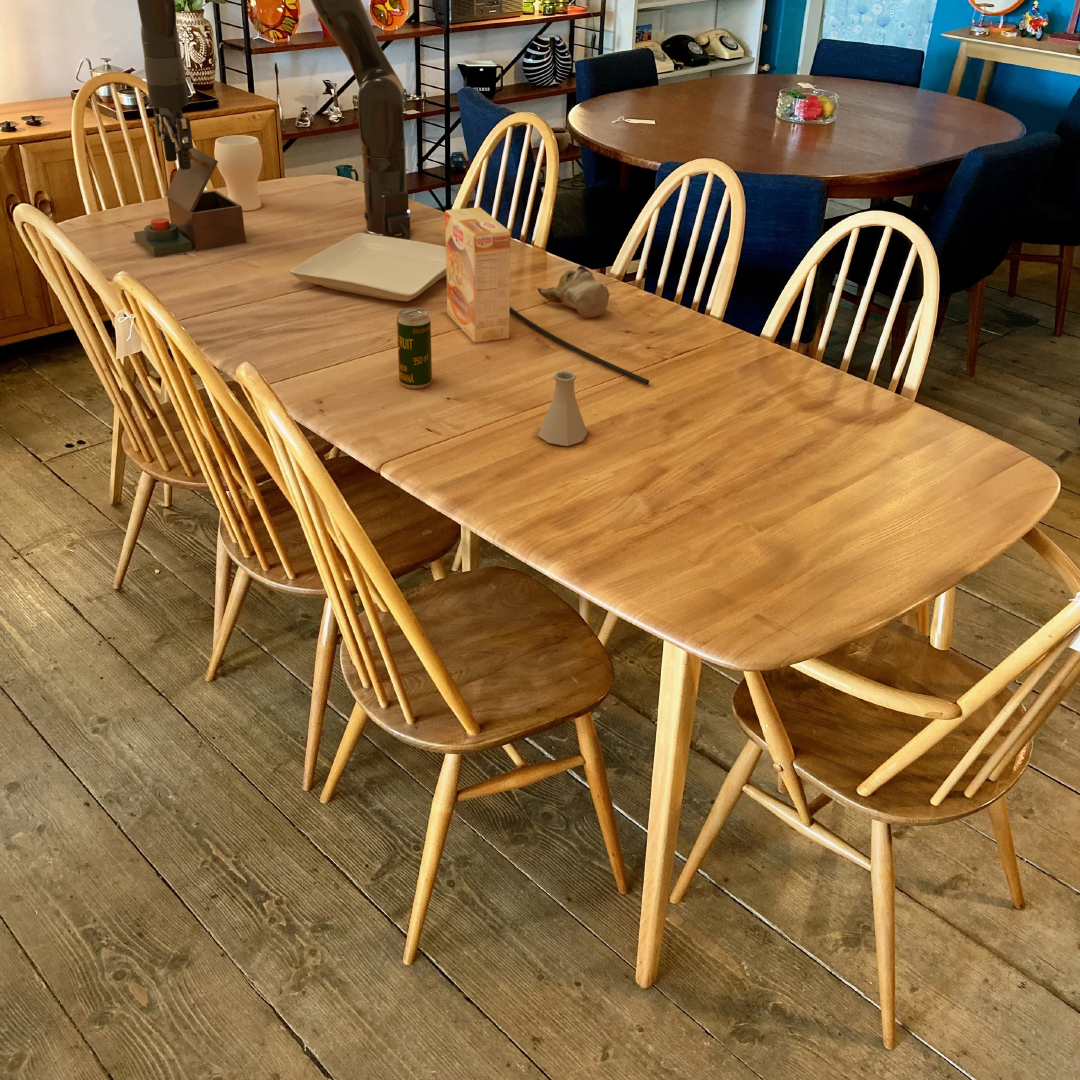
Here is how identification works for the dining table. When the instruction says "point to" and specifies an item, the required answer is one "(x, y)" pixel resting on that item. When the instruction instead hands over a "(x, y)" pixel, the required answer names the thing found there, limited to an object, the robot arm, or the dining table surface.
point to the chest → (209, 221)
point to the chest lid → (191, 180)
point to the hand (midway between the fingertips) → (178, 164)
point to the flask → (563, 414)
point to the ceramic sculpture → (579, 292)
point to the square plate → (376, 267)
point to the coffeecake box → (478, 273)
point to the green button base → (163, 241)
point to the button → (160, 224)
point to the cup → (240, 168)
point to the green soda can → (414, 348)
